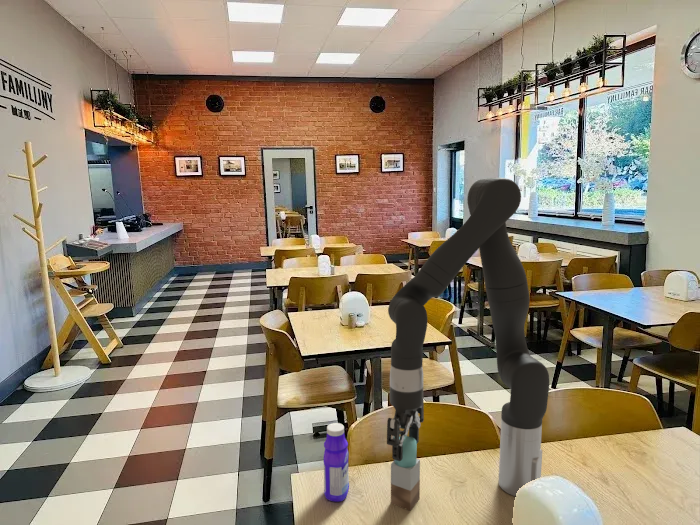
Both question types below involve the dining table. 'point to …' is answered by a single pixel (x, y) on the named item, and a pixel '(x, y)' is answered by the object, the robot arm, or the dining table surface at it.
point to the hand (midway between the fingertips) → (405, 450)
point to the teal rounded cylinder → (408, 453)
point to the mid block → (405, 475)
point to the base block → (405, 496)
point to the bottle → (336, 463)
